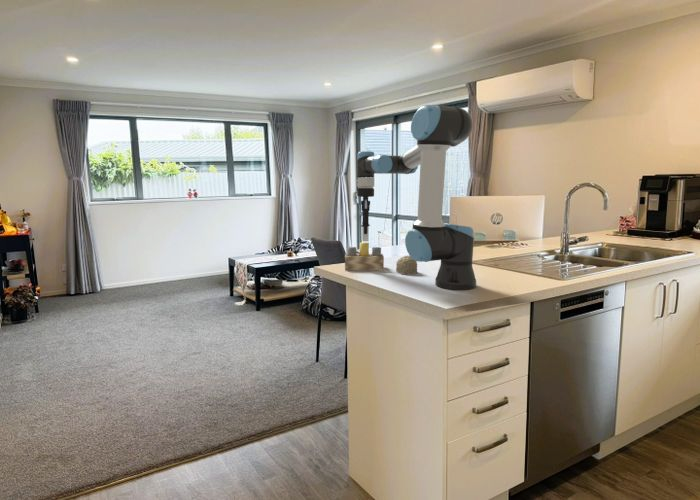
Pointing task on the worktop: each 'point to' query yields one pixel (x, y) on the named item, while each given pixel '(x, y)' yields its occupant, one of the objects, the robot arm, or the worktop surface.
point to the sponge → (406, 265)
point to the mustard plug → (364, 249)
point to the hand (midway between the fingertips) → (365, 241)
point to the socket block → (364, 262)
